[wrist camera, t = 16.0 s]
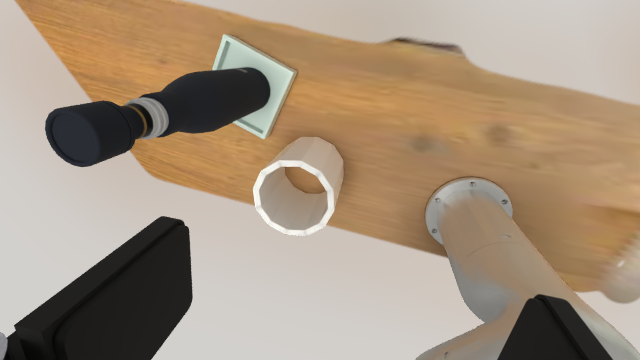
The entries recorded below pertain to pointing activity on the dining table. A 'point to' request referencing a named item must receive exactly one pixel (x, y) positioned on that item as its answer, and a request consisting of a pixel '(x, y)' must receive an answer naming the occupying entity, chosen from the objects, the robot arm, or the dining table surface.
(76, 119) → the wine bottle
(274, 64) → the sage tray
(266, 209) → the wine cooler
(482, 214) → the robot arm
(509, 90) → the dining table surface
